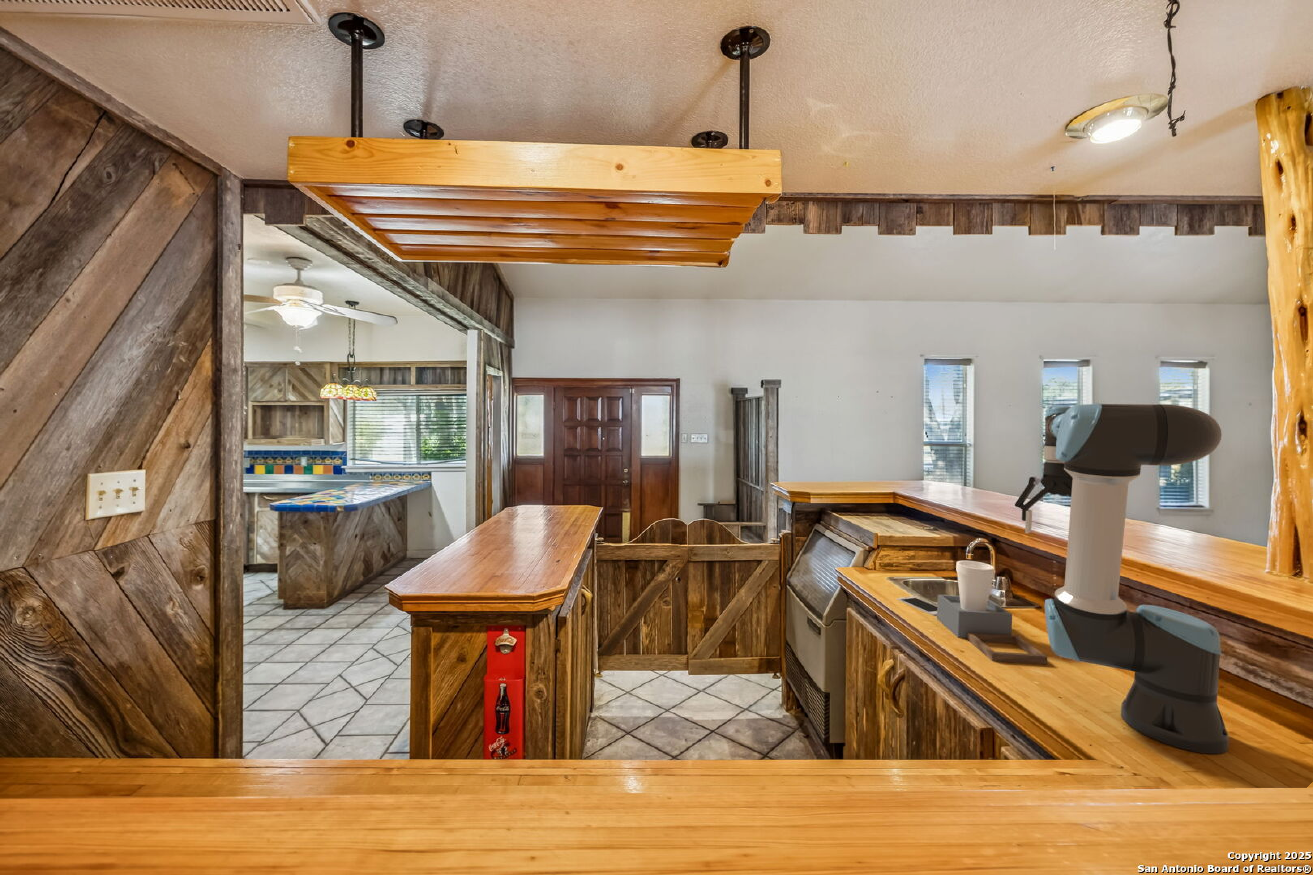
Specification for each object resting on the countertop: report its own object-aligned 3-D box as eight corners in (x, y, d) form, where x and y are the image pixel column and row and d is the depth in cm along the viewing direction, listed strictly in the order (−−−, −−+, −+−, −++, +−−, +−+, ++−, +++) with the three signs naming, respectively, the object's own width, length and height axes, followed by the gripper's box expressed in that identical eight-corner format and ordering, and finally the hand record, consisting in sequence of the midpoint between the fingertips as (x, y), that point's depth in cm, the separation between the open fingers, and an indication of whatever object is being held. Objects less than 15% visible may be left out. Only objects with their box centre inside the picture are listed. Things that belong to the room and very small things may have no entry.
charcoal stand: (1011, 640, 145) (1012, 614, 145) (958, 637, 146) (959, 611, 146) (985, 621, 159) (986, 597, 158) (936, 618, 160) (937, 594, 160)
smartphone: (933, 616, 163) (933, 613, 163) (896, 600, 177) (896, 597, 177) (950, 614, 165) (950, 611, 165) (912, 598, 180) (912, 596, 180)
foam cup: (948, 602, 157) (950, 560, 157) (979, 603, 157) (981, 560, 156) (966, 614, 148) (967, 569, 147) (999, 615, 147) (1001, 570, 147)
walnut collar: (1047, 664, 131) (1047, 656, 131) (992, 660, 132) (992, 652, 132) (1017, 642, 144) (1017, 635, 144) (967, 639, 145) (967, 632, 145)
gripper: (1122, 464, 138) (1118, 544, 139) (1013, 458, 158) (1010, 527, 158) (1115, 465, 134) (1111, 547, 134) (1004, 459, 153) (1001, 530, 154)
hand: (1056, 537), depth 146 cm, fingers open, 13 cm apart
